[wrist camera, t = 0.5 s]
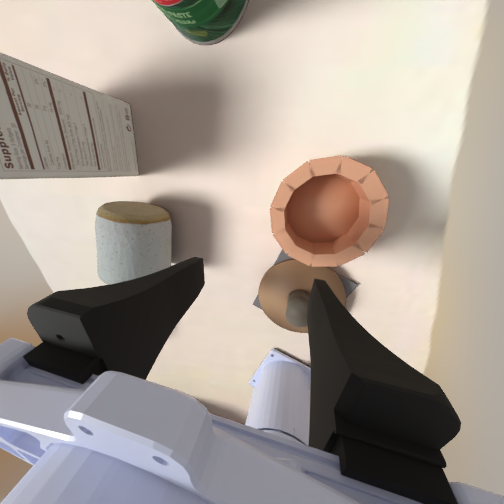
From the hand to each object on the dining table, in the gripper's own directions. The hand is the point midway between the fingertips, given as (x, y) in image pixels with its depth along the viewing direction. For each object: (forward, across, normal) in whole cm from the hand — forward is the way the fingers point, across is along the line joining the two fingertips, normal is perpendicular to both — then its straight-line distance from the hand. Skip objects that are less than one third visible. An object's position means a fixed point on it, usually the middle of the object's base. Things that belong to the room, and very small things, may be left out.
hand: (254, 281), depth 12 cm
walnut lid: (+10, -4, +8) cm, 13 cm away
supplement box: (+12, +20, -8) cm, 25 cm away
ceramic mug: (+11, +17, +3) cm, 20 cm away
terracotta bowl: (+11, -4, -3) cm, 12 cm away
